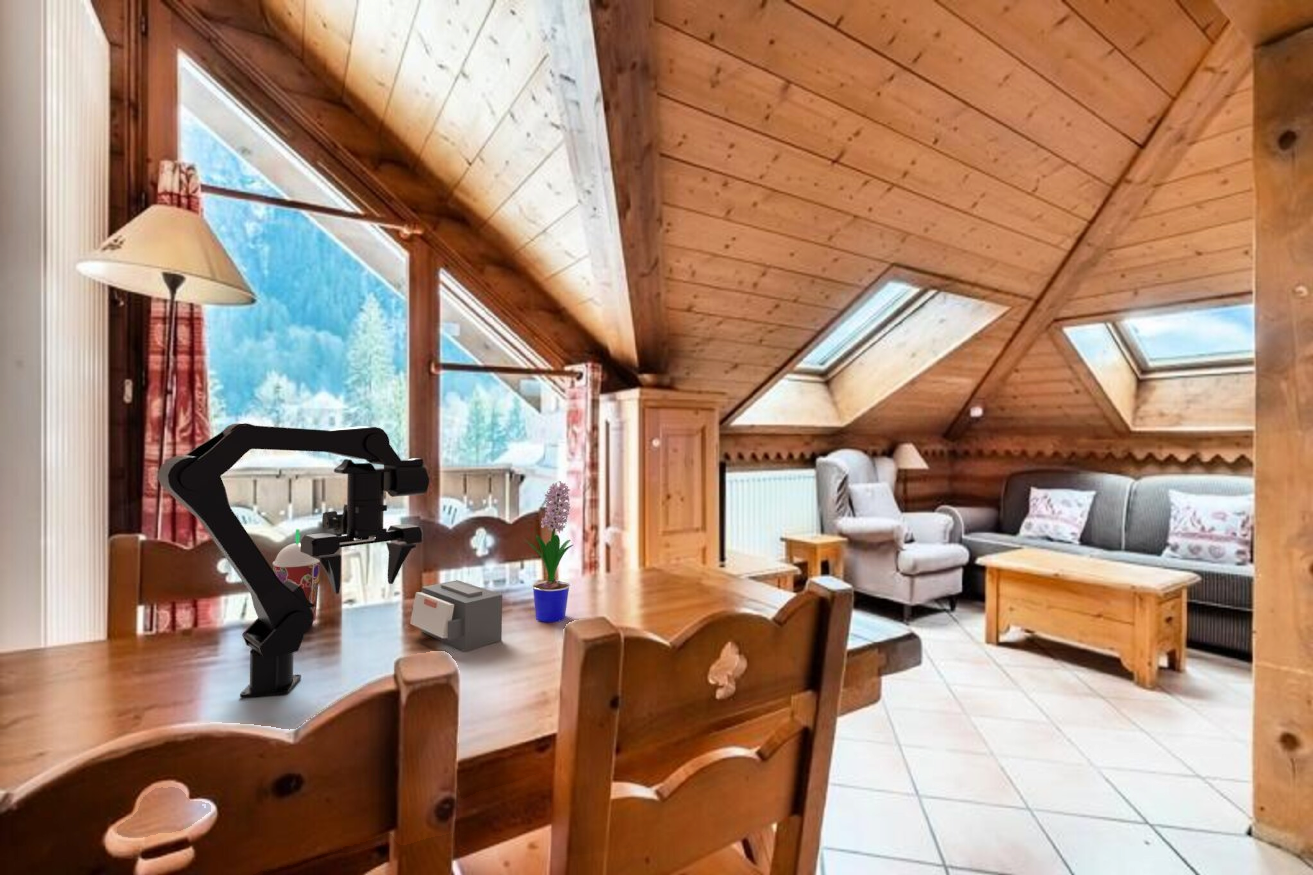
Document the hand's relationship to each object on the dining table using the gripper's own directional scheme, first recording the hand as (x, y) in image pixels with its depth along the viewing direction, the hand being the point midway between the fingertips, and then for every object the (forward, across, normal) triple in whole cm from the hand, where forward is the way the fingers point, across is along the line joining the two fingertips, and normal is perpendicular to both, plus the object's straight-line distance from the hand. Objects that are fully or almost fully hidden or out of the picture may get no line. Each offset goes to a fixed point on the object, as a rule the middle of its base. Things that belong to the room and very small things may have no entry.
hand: (364, 588), depth 104 cm
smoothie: (+13, +1, -28) cm, 31 cm away
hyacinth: (+13, -38, +3) cm, 40 cm away
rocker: (+10, -12, 0) cm, 16 cm away
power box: (+13, -18, 0) cm, 22 cm away
